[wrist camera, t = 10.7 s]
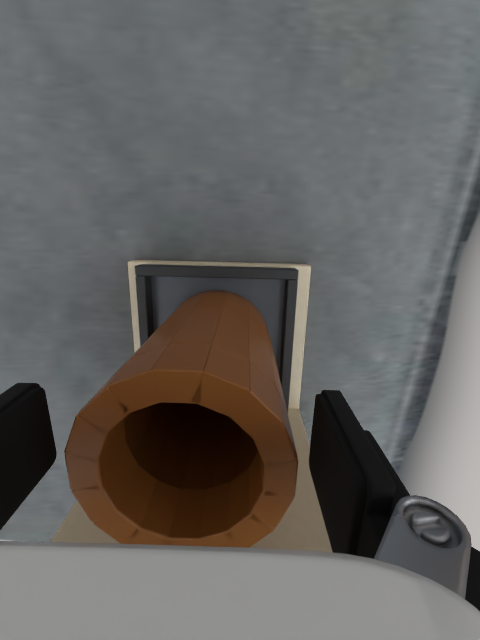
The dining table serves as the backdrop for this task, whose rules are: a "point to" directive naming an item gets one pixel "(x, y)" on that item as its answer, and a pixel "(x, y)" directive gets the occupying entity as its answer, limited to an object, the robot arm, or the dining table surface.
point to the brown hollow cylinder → (189, 434)
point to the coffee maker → (288, 346)
